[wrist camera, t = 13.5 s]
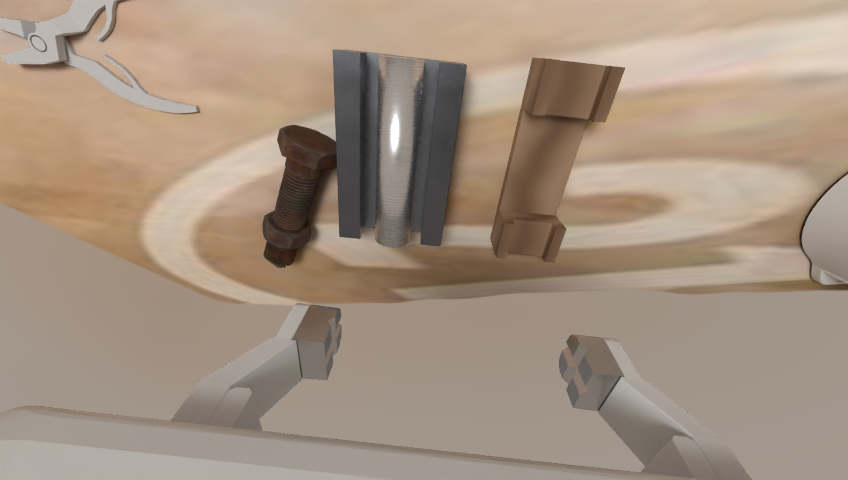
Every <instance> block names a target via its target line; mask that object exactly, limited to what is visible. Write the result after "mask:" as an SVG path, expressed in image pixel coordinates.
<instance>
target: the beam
mask: <svg viewBox="0 0 848 480" xmlns="http://www.w3.org/2000/svg"><path fill="white" fill-rule="evenodd" d="M624 70H625V68H622V67H614V66H603V65H595V64H586V63H577V62H569V61H560V60H554V59H544V58H533V59H532V63H531V67H530V71H529V76H528V80H527V84H526V88H525V93H524V97H523V101H522V106H521V110H520V114H519V118H518V123H517V127H516V131H515V135H514V140H513V144H512V148H511V152H510V157H509V161H508V165H507V169H506V174H505V178H504V182H503V187H502V191H501V195H500V199H499V204H498V208H497V212H496V216H495V221H494V225H493V229H492V233H491V238H490V239H491V242H492V245H493V248H494V251H495V255H496V257H497V258H506V255H507V253H508V254H519V255H529V256H540V257H542V258H543V260H544V262H551V263H554V262H555V259H556V256H557V253H558V251H559V248H560V245H561V242H562V240H563V237H564V234H565V231H566V228H565V227H564V225H563V224H562V223H561V222H560V221H559V219H558V218H557V217H556V213H557V210H558V207H559V204H560V201H561V198H562V195H563V192H564V189H565V186H566V183H567V180H568V177H569V174H570V171H571V168H572V166H573V163H574V160H575V157H576V154H577V151H578V148H579V145H580V142H581V139H582V136H583V133H584V130H585V127H586V124H587V121H588V119H589V120H592V121H595V122H604V123H605V122H606V119H607V116H608V114H609V111H610V108H611V105H612V103H613V100H614V97H615V94H616V92H617V89H618V86H619V84H620V81H621V78H622V75H623V73H624Z"/></svg>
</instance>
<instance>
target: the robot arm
mask: <svg viewBox="0 0 848 480" xmlns="http://www.w3.org/2000/svg"><path fill="white" fill-rule="evenodd" d="M802 246H803V249H804V251H805V253H806V254H807V256H808V257H809V258H810V260H811V262H812V270H811V276H812V279H813V280H815V281H817V282H819V283H821V284H824V285H833V284H848V174H847V175H846V176H844V177H843V178H842V179H841V180H840V181H838V182H837V183H836V184H835V185H834V186H833V187H832V188H831V189H830V190H829V191H828V192H827V193H826V194H825V195H824V196H823V197H822V198H821V199H820V200H819V202H818V203H817V204H816V206H815V207H814V208H813V210H812V211H811V213H810V215H809V217H808V219H807V221H806V223H805V225H804V229H803V233H802ZM340 318H341V310H340V309H339V308H333V307H324V306H318V305H308V304H301V303H297V304H295V305H294V306H293V308H292V310H291V311H290V313H289V315H288V317H287V319H286V320H285V322H284V323H283V325H282V327H281V329H280V330H279V332H278V334H277V336H276V337H275V338H269V339H268V340H266V341H264V342H263V343H261V344H260V345H258V346H256V347H255V348H253V349H251V350H250V351H248V352H247V353H245V354H243V355H242V356H240V357H238V358H237V359H235V360H234V361H232V362H230V363H229V364H227V365H225V366H224V367H222V368H221V369H219V370H217V371H216V372H214V373H212V374H211V375H209V376H207V377H206V378H204V379H203V380H201V381H199V383H198V384H197V386H196V387H195V389H194V390H193V391H192V392H191V394H190V395H189V396H188V398H187V399H186V400H185V402H184V403H183V405H182V406H181V407H180V409H179V410H178V411H177V413H176V414H175V415H174V417H173V418H172V419H171V421H167V420H158V419H149V418H140V417H130V416H122V415H113V414H104V413H95V412H84V411H76V410H68V409H59V408H52V407H44V406H23V407H18V408H14V409H11V410H8V411H6V412H3V413H1V414H0V480H751V478H750V477H749V475H748V474H747V473H746V471H745V470H744V468H743V467H742V465H741V464H740V463H739V461H738V460H737V458H736V457H735V456H734V454H733V453H732V451H731V450H730V449H729V447H728V446H727V444H726V443H725V442H724V440H723V439H722V438H720V437H719V436H718V435H716V434H715V433H714V432H712V431H711V430H710V429H709V428H707V427H706V426H705V425H704V424H702V423H701V422H700V421H698V420H697V419H696V418H695V417H693V416H692V415H691V414H689V413H688V412H687V411H685V410H684V409H683V408H682V407H680V406H679V405H678V404H677V403H675V402H674V401H673V400H671V399H670V398H669V397H668V396H666V395H665V394H663V393H662V392H661V391H660V390H659V389H657V388H656V387H655V386H653V385H652V384H651V383H650V382H648V381H647V380H643V379H641V377H640V376H639V374H638V372H637V371H636V369H635V367H634V366H633V364H632V362H631V361H630V359H629V358H628V356H627V354H626V353H625V351H624V349H623V348H622V346H621V344H620V343H619V341H617V340H616V339H611V338H599V337H590V336H581V335H571V336H570V337H569V339H568V340H567V344H568V348H566V349H564V350H563V351H562V353H561V355H560V360H559V368H560V373H561V375H562V378H563V379H564V380H565V381H566V382H567V383H568V384H569V385H568V387H567V392H568V395H569V398H570V401H571V403H572V406H573V408H579V409H586V410H593V411H599V412H598V413H599V414H600V415H601V416H602V417H603V419H604V420H605V421H606V422H607V423H608V424H609V426H610V427H611V428H612V429H613V430H614V431H615V432H616V434H617V435H618V436H619V437H620V438H621V439H622V440H623V441H624V443H625V444H626V445H627V446H628V447H629V448H630V449H631V450H632V452H633V453H634V454H635V455H636V456H637V457H638V458H639V460H640V461H641V462H642V463H643V464H644V465H645V466H646V467H645V468H644V469H643V470H642V471H641V472H630V471H621V470H612V469H603V468H594V467H585V466H575V465H566V464H558V463H549V462H539V461H530V460H521V459H512V458H502V457H493V456H485V455H475V454H466V453H457V452H447V451H439V450H430V449H421V448H412V447H403V446H393V445H384V444H375V443H366V442H357V441H348V440H339V439H329V438H320V437H312V436H302V435H294V434H285V433H275V432H267V431H262V427H261V424H260V420H259V418H261V417H262V416H263V415H264V414H265V413H266V412H267V411H268V410H269V409H270V408H272V407H273V406H274V404H276V403H277V402H278V401H279V400H280V399H281V398H282V397H284V395H286V394H287V393H288V392H289V391H290V390H291V389H292V388H293V387H294V386H295V385H297V384H298V383H299V382H300V381H301V380H302V378H305V379H318V380H327V379H328V377H329V374H330V371H331V368H332V365H333V355H335V354H336V353H337V351H338V348H339V345H340V340H341V330H342V329H341V325H340V324H339V321H340Z"/></svg>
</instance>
